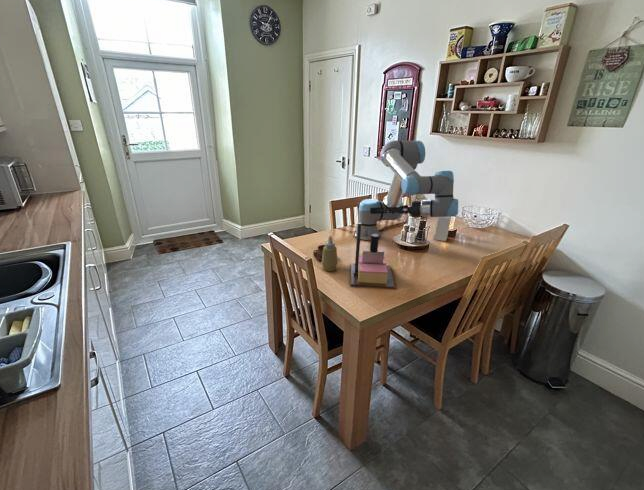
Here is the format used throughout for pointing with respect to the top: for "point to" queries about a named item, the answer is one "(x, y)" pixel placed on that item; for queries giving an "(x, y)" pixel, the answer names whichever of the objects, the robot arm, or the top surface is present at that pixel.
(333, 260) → the squeeze bottle
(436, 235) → the milk carton
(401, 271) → the top surface
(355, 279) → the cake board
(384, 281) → the cake
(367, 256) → the cutter
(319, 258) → the cup and saucer
